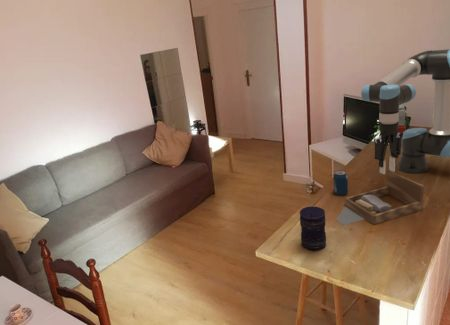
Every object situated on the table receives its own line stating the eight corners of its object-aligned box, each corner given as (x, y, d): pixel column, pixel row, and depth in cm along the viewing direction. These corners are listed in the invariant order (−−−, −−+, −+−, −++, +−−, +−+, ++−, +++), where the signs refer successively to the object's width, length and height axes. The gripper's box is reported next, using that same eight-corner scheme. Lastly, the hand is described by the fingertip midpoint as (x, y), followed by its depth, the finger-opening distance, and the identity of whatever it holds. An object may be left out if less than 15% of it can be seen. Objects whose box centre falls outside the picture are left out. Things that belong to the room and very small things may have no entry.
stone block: (372, 204, 166) (358, 201, 162) (377, 195, 165) (362, 192, 161) (391, 216, 156) (375, 214, 152) (396, 207, 155) (380, 204, 150)
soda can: (350, 192, 178) (350, 171, 174) (343, 197, 174) (343, 176, 170) (337, 189, 183) (337, 168, 179) (331, 194, 179) (330, 173, 175)
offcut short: (360, 204, 161) (360, 199, 160) (373, 210, 154) (373, 205, 153) (355, 205, 160) (355, 200, 159) (367, 212, 153) (367, 207, 152)
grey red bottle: (404, 147, 229) (407, 102, 219) (394, 147, 231) (396, 103, 221) (397, 138, 247) (399, 97, 237) (387, 139, 249) (389, 98, 239)
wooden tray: (388, 192, 173) (389, 170, 169) (421, 209, 154) (423, 185, 150) (344, 205, 166) (344, 183, 162) (373, 224, 148) (374, 199, 144)
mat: (342, 205, 167) (342, 204, 167) (364, 219, 152) (364, 219, 152) (323, 210, 164) (323, 210, 164) (343, 225, 150) (343, 225, 150)
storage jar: (303, 236, 146) (302, 205, 141) (327, 239, 142) (326, 207, 137) (299, 250, 137) (297, 217, 132) (324, 253, 134) (323, 219, 128)
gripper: (398, 116, 152) (396, 165, 160) (365, 124, 148) (365, 173, 156) (412, 119, 146) (409, 170, 154) (377, 127, 141) (376, 179, 149)
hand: (387, 171), depth 155 cm, fingers open, 4 cm apart
